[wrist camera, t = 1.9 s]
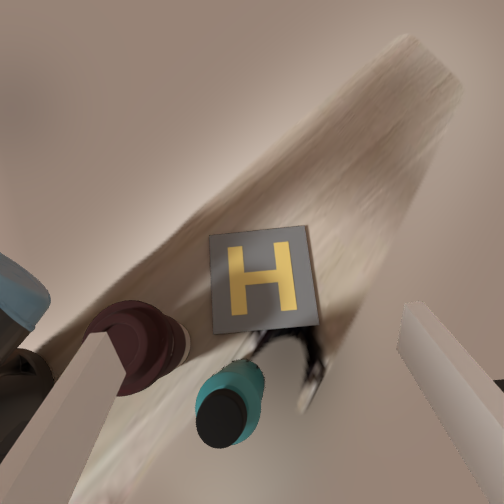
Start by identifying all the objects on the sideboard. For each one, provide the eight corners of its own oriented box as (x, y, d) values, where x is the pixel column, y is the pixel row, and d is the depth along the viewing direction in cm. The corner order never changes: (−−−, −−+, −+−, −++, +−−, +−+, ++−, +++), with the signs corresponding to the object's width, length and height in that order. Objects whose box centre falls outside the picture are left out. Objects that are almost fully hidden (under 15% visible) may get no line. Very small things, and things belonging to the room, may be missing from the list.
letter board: (214, 334, 43) (213, 334, 43) (209, 236, 48) (209, 235, 47) (318, 324, 43) (319, 324, 42) (304, 226, 47) (304, 225, 47)
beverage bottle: (268, 360, 42) (265, 380, 23) (263, 410, 40) (255, 477, 21) (224, 354, 42) (186, 369, 23) (218, 403, 41) (170, 463, 21)
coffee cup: (194, 305, 45) (157, 288, 31) (205, 371, 42) (168, 386, 27) (134, 320, 45) (68, 309, 31) (139, 387, 42) (69, 410, 27)
